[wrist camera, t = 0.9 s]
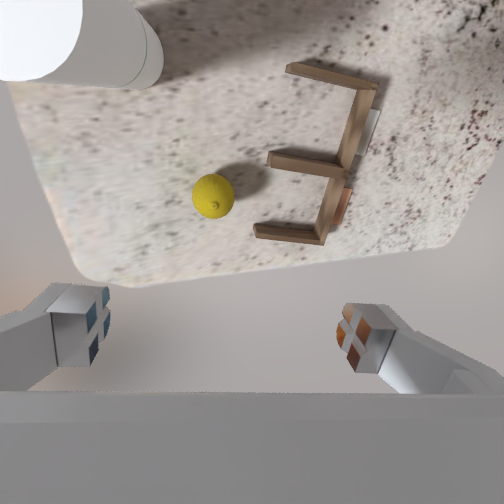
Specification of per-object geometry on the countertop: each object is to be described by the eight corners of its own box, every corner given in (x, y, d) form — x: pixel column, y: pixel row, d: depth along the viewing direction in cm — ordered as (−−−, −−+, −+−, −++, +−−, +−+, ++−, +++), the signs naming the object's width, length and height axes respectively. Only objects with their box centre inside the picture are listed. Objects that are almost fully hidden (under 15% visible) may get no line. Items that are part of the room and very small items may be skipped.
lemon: (237, 175, 41) (243, 191, 34) (225, 210, 43) (229, 232, 36) (199, 162, 39) (197, 177, 32) (189, 199, 41) (185, 221, 34)
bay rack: (286, 64, 35) (294, 61, 32) (386, 89, 38) (401, 89, 35) (252, 228, 45) (256, 238, 42) (333, 238, 48) (342, 247, 45)
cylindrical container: (117, -5, 30) (-118, -266, 8) (176, 50, 33) (116, -36, 11) (85, 57, 32) (-171, -23, 10) (143, 103, 35) (38, 118, 13)
